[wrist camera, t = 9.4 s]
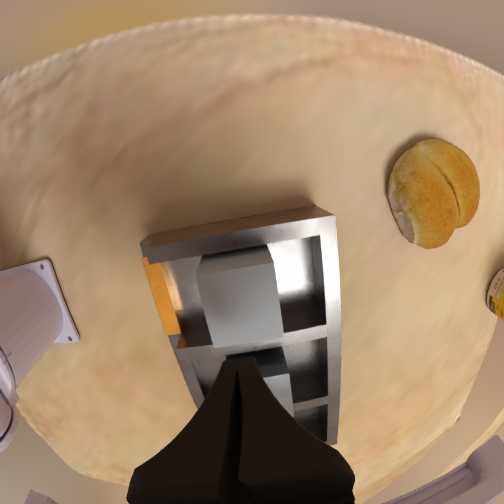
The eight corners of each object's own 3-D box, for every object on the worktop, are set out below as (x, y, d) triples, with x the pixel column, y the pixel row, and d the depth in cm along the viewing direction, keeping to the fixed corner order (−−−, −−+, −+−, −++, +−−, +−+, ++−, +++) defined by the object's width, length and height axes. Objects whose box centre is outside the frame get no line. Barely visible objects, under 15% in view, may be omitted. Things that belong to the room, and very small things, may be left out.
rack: (215, 434, 26) (214, 478, 20) (147, 235, 19) (115, 262, 14) (327, 416, 26) (341, 458, 20) (316, 205, 20) (347, 221, 14)
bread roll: (471, 206, 20) (500, 215, 17) (406, 256, 21) (433, 273, 18) (443, 123, 18) (473, 121, 14) (369, 167, 19) (397, 168, 15)
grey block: (218, 307, 20) (214, 348, 15) (204, 248, 19) (194, 275, 14) (273, 298, 20) (284, 337, 16) (264, 238, 19) (274, 262, 14)
